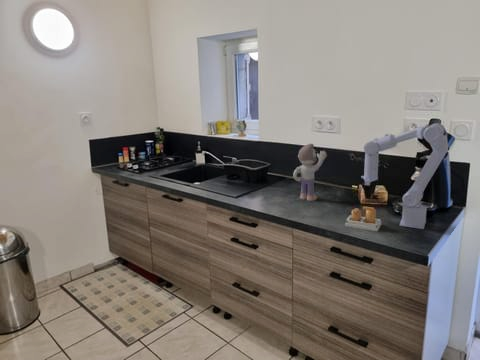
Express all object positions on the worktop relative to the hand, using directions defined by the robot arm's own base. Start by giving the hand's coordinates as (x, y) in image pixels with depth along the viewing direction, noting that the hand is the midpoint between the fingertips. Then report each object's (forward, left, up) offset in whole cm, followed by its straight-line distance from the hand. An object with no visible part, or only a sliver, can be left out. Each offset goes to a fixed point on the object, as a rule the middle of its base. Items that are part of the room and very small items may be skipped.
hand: (369, 196), depth 166 cm
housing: (0, +12, -10) cm, 15 cm away
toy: (+33, -14, -10) cm, 37 cm away
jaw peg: (-3, +12, -9) cm, 15 cm away
